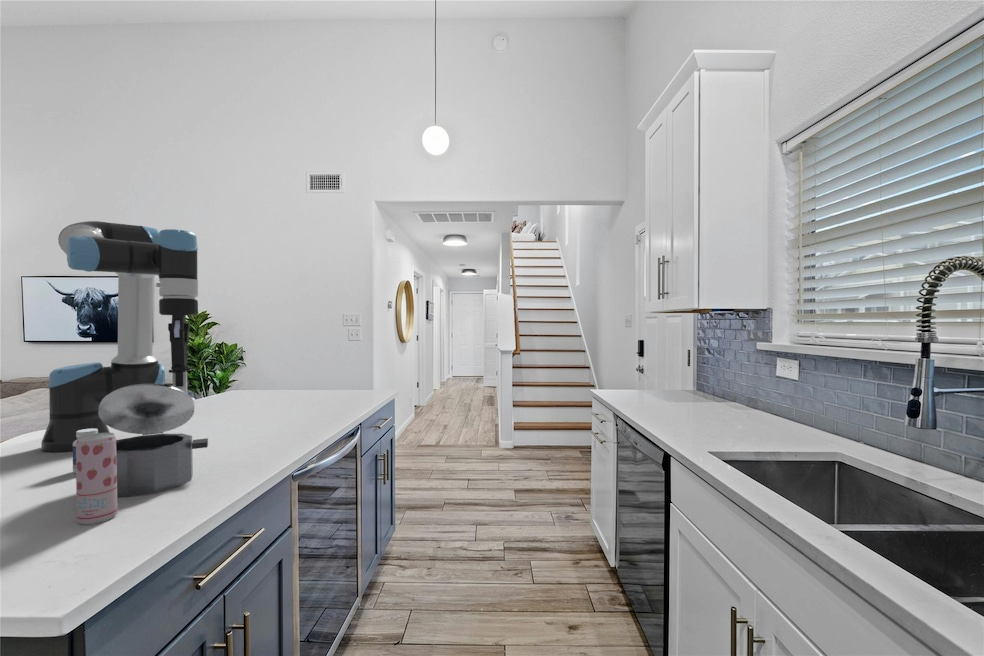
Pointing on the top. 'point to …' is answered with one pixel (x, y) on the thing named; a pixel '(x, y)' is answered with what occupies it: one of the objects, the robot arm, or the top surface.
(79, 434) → the pill bottle
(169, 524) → the top surface
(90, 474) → the beverage can
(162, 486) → the pot
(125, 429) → the lid
